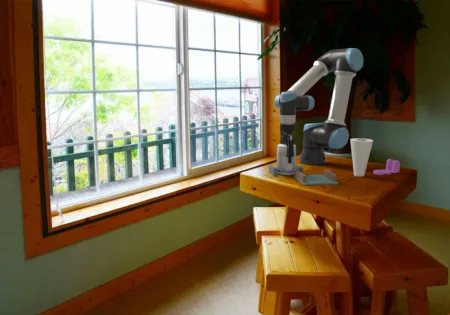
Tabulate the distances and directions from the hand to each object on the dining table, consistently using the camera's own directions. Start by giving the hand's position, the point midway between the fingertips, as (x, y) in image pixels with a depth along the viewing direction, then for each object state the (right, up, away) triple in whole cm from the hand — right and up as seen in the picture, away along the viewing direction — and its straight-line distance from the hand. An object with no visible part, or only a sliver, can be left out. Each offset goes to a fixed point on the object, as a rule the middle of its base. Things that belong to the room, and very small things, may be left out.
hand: (285, 167), depth 198 cm
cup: (+37, -4, -2) cm, 37 cm away
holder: (0, -3, 0) cm, 3 cm away
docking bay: (+12, -6, -13) cm, 18 cm away
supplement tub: (0, -3, +1) cm, 3 cm away
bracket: (+52, -3, +4) cm, 52 cm away
